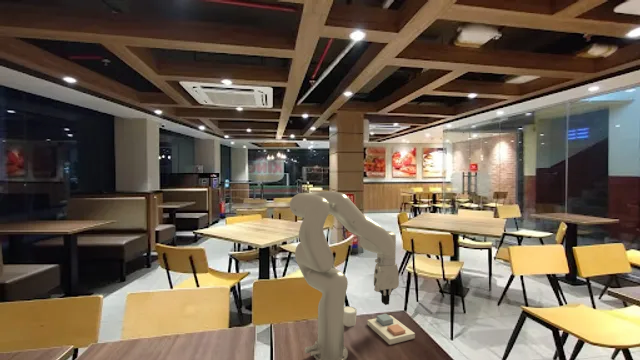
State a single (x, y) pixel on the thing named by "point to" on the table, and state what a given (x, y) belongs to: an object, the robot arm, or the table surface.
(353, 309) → the shot glass
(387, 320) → the key slate
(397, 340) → the board
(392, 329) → the key terracotta
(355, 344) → the table surface
